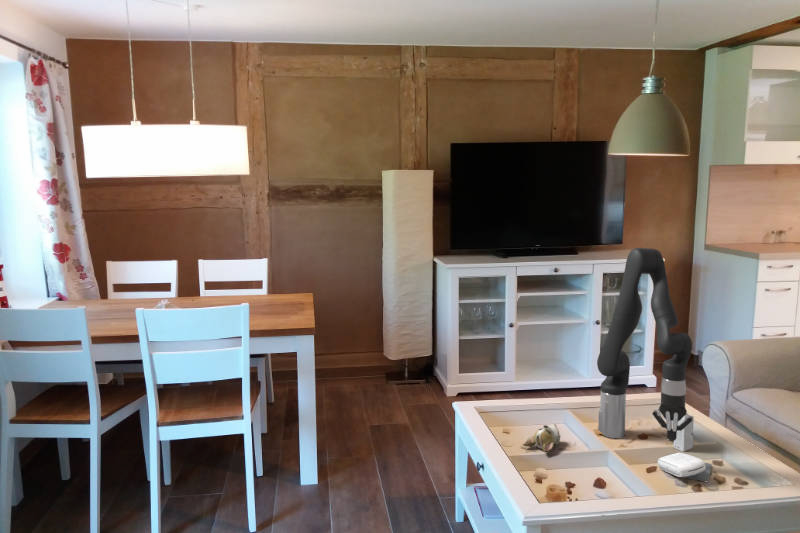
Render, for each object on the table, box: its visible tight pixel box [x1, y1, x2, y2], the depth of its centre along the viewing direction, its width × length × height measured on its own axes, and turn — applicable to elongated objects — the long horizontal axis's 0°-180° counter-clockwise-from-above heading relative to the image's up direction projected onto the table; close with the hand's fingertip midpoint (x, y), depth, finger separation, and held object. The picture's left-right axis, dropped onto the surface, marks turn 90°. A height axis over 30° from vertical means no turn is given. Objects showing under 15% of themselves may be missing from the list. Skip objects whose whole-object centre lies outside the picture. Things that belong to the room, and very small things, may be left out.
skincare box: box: [672, 414, 695, 452], centre depth 213 cm, size 6×4×12 cm
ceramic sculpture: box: [522, 423, 561, 454], centre depth 215 cm, size 11×9×15 cm
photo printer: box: [657, 452, 706, 478], centre depth 192 cm, size 10×4×12 cm
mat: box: [671, 462, 712, 482], centre depth 196 cm, size 10×14×1 cm
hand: (671, 440), depth 198 cm, fingers closed
